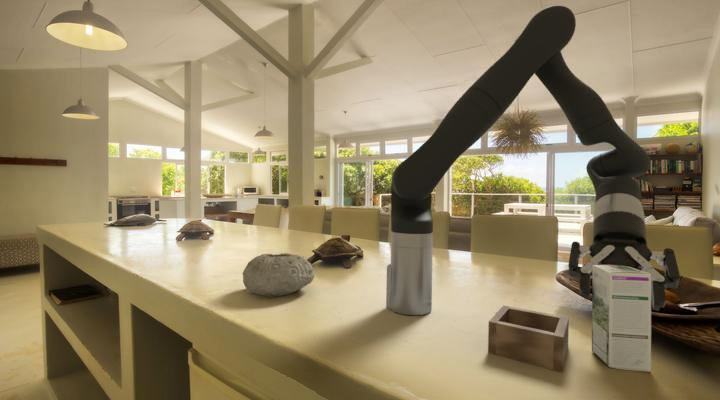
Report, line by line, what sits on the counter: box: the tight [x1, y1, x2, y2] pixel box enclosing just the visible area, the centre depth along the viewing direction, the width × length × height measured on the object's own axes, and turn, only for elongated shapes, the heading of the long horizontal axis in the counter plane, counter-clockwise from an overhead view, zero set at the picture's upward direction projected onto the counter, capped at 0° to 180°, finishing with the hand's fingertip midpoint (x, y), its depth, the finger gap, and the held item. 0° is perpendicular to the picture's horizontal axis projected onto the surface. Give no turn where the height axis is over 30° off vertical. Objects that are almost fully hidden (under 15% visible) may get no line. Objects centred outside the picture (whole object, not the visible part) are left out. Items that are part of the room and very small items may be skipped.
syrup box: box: [591, 265, 652, 373], centre depth 53 cm, size 6×6×14 cm
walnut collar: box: [487, 305, 570, 373], centre depth 56 cm, size 10×10×5 cm
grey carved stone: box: [242, 252, 315, 297], centre depth 88 cm, size 18×18×10 cm
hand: (620, 302), depth 53 cm, fingers open, 8 cm apart
